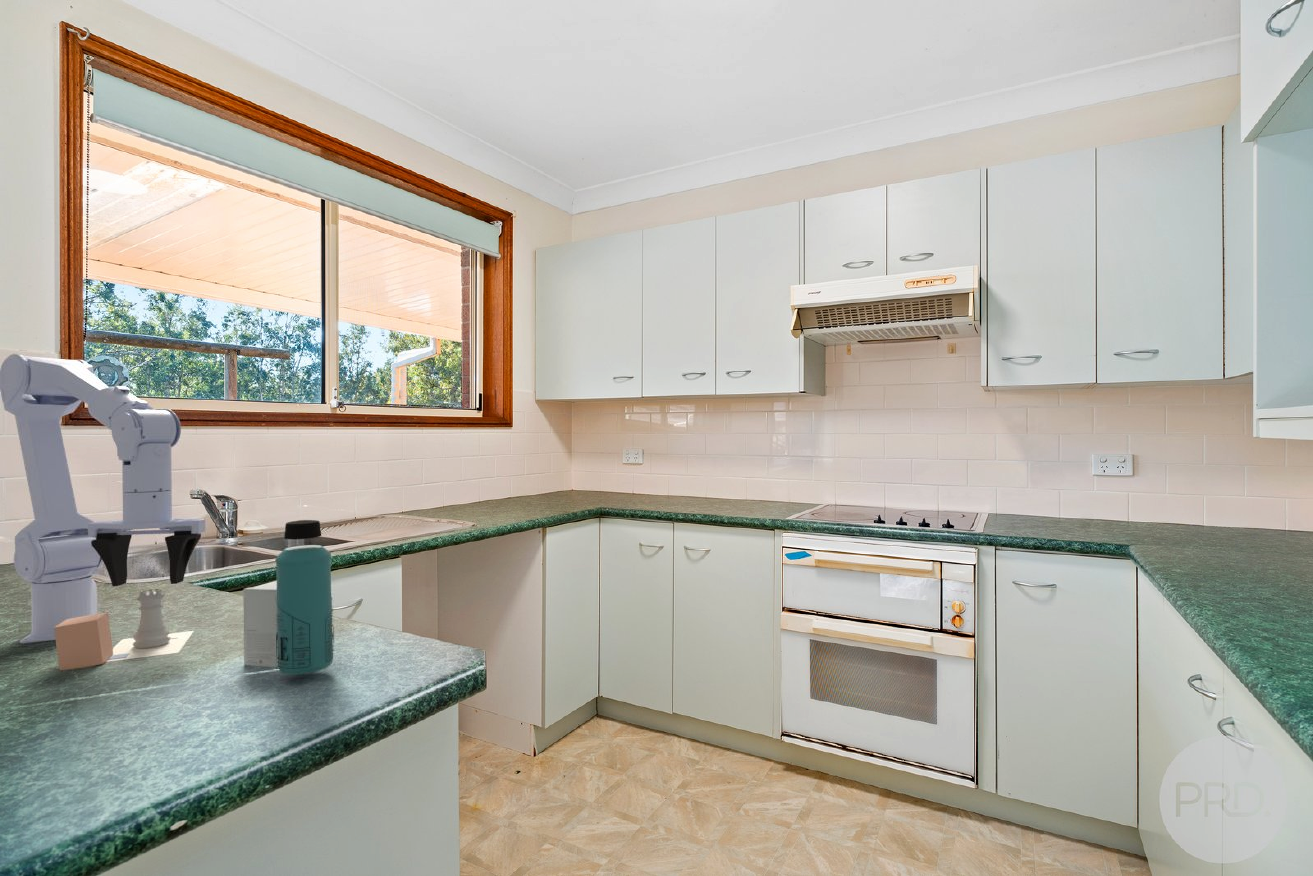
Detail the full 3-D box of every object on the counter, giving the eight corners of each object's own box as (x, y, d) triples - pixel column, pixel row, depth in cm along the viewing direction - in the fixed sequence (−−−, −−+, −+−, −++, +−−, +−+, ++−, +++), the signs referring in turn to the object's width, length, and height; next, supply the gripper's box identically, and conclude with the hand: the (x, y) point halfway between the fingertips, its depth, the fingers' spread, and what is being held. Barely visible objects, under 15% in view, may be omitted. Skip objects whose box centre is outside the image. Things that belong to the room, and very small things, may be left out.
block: (72, 662, 91) (66, 619, 91) (113, 654, 93) (107, 612, 93) (60, 672, 87) (53, 627, 87) (102, 663, 89) (97, 620, 89)
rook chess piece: (155, 638, 100) (155, 586, 100) (177, 641, 99) (177, 587, 99) (124, 648, 96) (123, 593, 96) (147, 650, 95) (146, 595, 94)
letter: (122, 641, 100) (122, 638, 100) (193, 632, 104) (193, 630, 104) (97, 665, 90) (97, 662, 90) (178, 654, 94) (178, 652, 94)
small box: (278, 669, 87) (277, 589, 87) (242, 667, 88) (241, 588, 88) (321, 650, 95) (320, 577, 95) (287, 648, 96) (286, 576, 96)
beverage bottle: (346, 671, 86) (344, 517, 86) (303, 690, 80) (301, 524, 80) (307, 666, 88) (305, 516, 88) (262, 684, 82) (261, 522, 82)
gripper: (215, 488, 102) (215, 575, 102) (110, 490, 100) (110, 580, 100) (190, 491, 95) (191, 586, 95) (77, 493, 93) (78, 590, 93)
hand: (148, 583), depth 97 cm, fingers open, 7 cm apart
